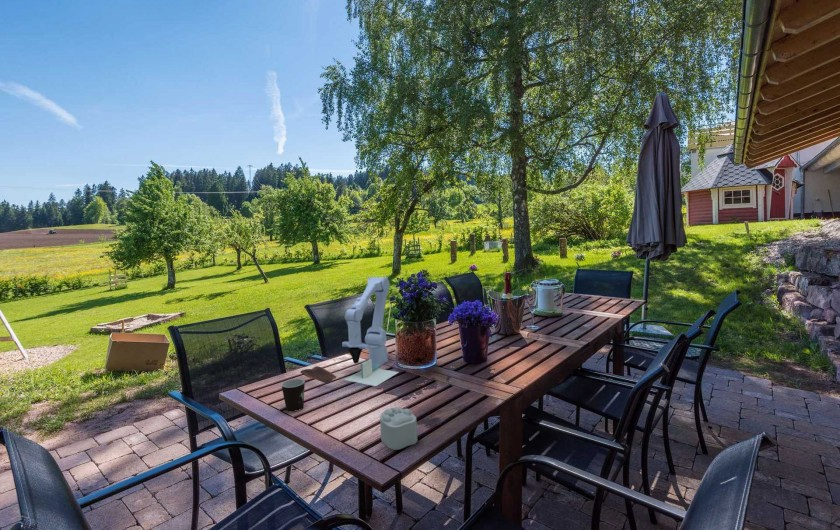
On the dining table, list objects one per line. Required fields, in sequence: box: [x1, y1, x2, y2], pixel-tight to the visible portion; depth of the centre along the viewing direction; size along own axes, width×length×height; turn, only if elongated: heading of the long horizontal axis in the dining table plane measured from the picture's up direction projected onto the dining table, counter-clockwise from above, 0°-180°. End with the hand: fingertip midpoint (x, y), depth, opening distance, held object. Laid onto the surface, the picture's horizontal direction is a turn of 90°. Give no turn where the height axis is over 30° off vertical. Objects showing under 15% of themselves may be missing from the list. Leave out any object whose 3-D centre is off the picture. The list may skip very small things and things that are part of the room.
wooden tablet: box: [300, 365, 337, 384], centre depth 183 cm, size 26×2×10 cm
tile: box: [360, 358, 372, 379], centre depth 179 cm, size 6×2×7 cm, turn 150°
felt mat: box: [343, 368, 399, 387], centre depth 179 cm, size 18×18×1 cm
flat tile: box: [372, 364, 382, 373], centre depth 187 cm, size 6×7×2 cm
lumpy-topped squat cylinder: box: [379, 406, 418, 451], centre depth 125 cm, size 10×13×9 cm
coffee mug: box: [281, 378, 306, 412], centre depth 151 cm, size 12×9×10 cm
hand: (356, 362), depth 182 cm, fingers closed
